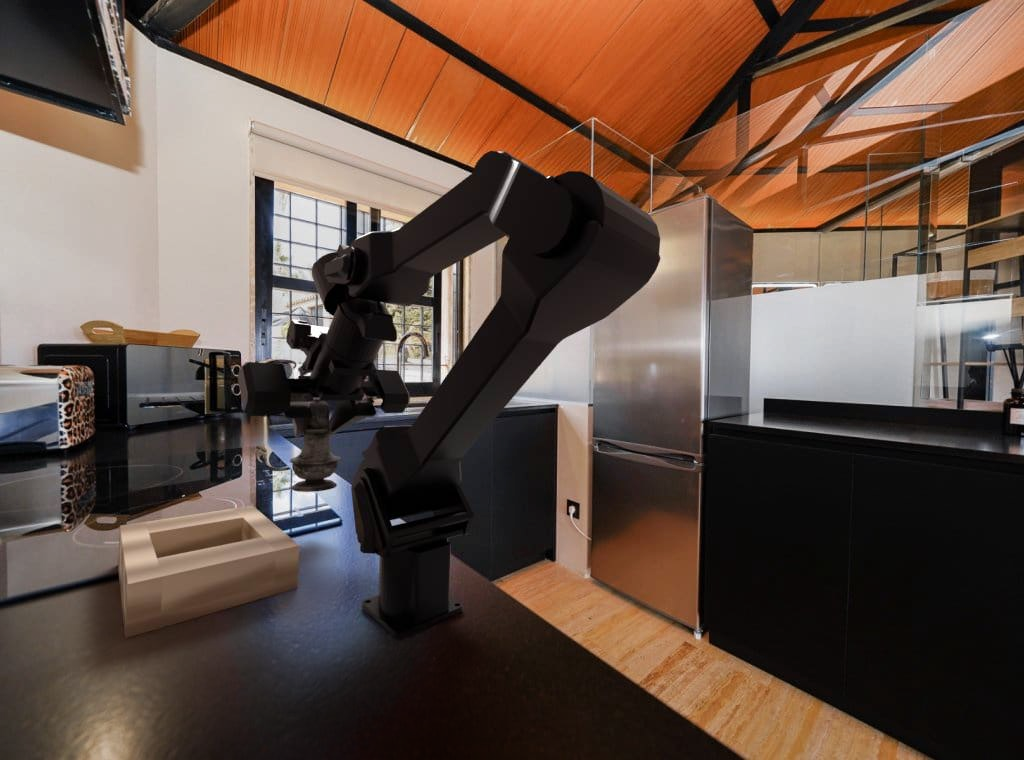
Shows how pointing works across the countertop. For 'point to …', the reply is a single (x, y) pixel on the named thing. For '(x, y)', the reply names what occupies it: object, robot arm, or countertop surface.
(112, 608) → the countertop surface
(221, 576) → the socket board
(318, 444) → the salt shaker
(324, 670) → the countertop surface
